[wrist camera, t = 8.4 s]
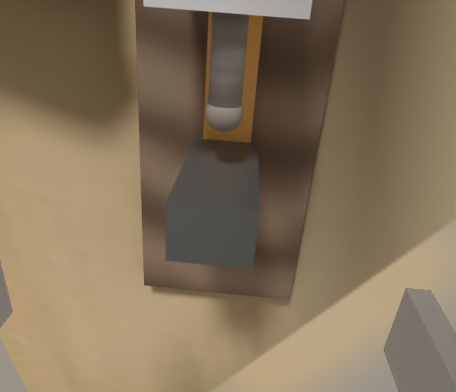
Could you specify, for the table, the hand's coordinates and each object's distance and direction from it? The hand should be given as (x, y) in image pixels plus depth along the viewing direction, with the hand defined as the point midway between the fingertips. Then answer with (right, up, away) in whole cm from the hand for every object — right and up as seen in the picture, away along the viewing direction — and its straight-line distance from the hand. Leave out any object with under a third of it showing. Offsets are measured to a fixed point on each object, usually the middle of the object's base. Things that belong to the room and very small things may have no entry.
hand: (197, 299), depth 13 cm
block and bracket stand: (+1, +9, +12) cm, 15 cm away
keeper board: (+1, +8, +14) cm, 17 cm away
